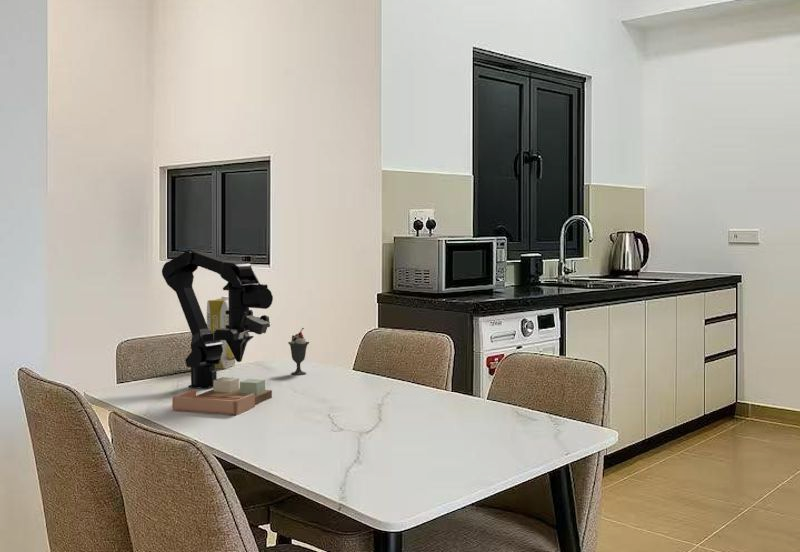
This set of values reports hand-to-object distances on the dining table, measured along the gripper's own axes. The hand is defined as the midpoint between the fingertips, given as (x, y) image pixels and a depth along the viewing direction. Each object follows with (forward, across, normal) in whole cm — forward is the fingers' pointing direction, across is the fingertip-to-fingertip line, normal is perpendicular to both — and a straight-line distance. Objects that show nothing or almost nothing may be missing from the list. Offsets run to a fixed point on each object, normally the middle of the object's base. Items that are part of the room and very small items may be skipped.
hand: (239, 361), depth 223 cm
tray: (+9, -21, -4) cm, 23 cm away
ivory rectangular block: (+7, -8, 0) cm, 10 cm away
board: (+9, -10, -4) cm, 14 cm away
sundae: (+9, +32, -4) cm, 33 cm away
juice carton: (+9, +36, +26) cm, 45 cm away
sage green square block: (+7, -8, -8) cm, 13 cm away
